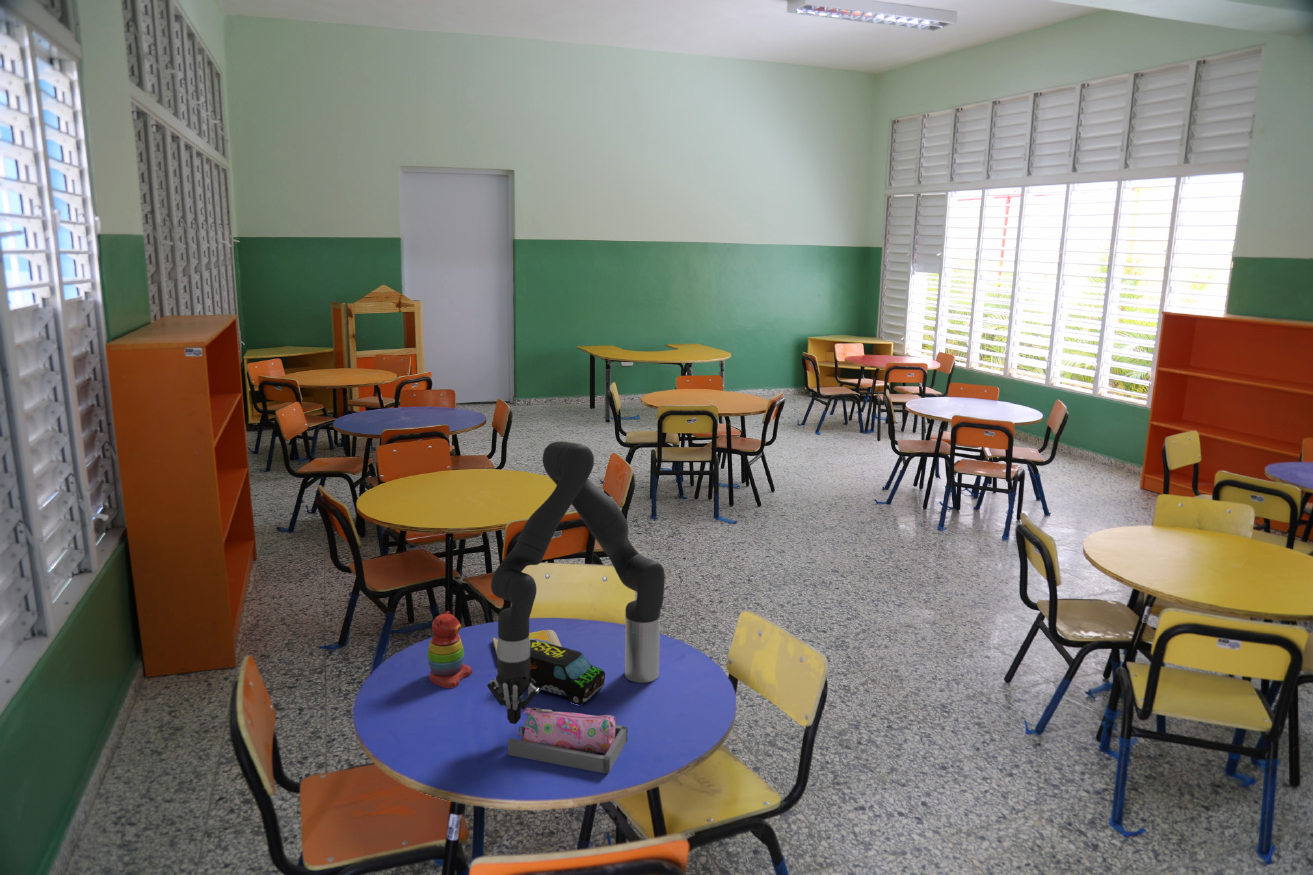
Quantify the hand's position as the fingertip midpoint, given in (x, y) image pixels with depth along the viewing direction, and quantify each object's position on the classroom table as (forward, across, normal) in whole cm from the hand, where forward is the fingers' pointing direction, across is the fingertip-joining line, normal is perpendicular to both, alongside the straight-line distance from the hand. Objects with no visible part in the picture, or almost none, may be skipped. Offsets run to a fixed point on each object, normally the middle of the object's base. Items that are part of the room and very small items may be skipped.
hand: (513, 721), depth 198 cm
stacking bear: (+5, +29, -22) cm, 37 cm away
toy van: (+4, 0, -25) cm, 26 cm away
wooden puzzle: (+5, +15, -42) cm, 45 cm away
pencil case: (+4, -14, 0) cm, 14 cm away
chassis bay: (+4, -14, 0) cm, 14 cm away
